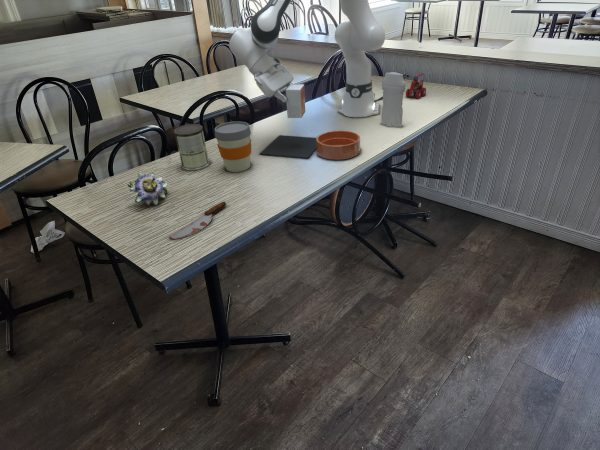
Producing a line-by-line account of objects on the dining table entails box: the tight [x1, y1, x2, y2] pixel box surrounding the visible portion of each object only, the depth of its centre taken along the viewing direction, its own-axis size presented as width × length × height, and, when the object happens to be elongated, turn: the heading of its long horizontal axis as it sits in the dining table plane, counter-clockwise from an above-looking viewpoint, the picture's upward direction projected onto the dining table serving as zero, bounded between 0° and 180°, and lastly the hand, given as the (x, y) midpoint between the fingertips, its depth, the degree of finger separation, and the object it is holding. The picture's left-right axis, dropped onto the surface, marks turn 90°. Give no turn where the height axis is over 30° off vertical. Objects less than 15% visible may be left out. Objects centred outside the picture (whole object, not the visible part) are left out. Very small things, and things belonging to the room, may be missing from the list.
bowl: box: [315, 130, 361, 161], centre depth 158 cm, size 16×16×6 cm
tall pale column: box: [380, 71, 407, 128], centre depth 174 cm, size 11×4×22 cm, turn 51°
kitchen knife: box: [169, 201, 227, 240], centre depth 121 cm, size 21×2×5 cm
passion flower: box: [127, 171, 168, 206], centre depth 134 cm, size 11×11×12 cm
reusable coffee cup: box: [214, 121, 252, 173], centre depth 149 cm, size 13×13×15 cm
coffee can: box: [173, 123, 210, 171], centre depth 154 cm, size 10×10×14 cm
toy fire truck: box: [405, 73, 427, 99], centre depth 211 cm, size 7×12×10 cm, turn 139°
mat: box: [259, 134, 317, 160], centre depth 166 cm, size 20×20×1 cm
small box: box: [285, 83, 306, 119], centre depth 156 cm, size 8×6×10 cm
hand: (291, 97), depth 155 cm, fingers closed on small box, 8 cm apart
